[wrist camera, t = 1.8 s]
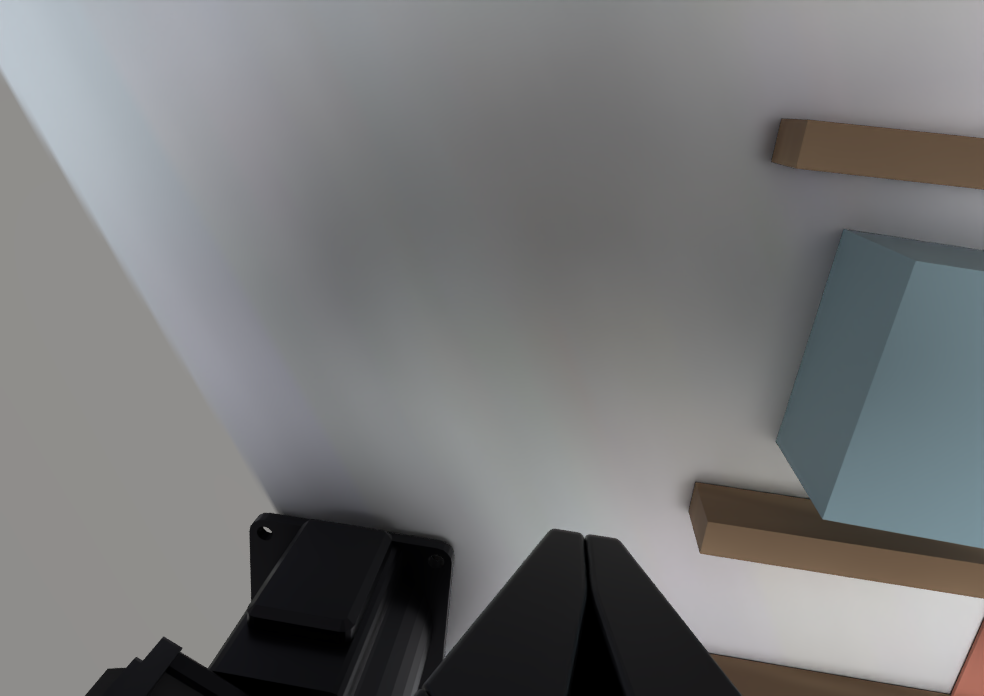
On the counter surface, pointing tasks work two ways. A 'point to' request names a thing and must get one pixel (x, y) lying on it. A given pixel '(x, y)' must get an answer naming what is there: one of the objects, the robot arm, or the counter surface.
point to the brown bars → (795, 521)
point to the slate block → (894, 391)
